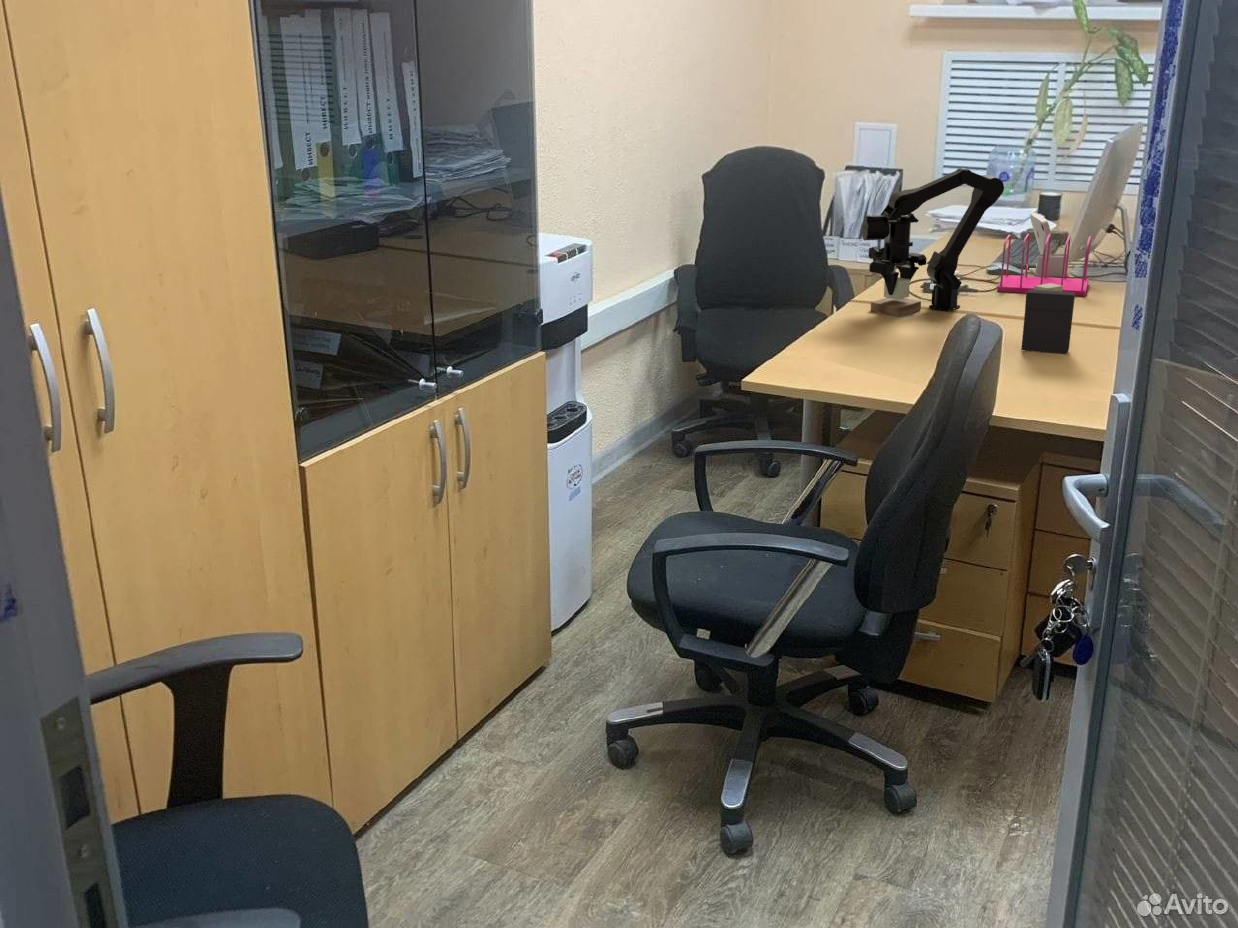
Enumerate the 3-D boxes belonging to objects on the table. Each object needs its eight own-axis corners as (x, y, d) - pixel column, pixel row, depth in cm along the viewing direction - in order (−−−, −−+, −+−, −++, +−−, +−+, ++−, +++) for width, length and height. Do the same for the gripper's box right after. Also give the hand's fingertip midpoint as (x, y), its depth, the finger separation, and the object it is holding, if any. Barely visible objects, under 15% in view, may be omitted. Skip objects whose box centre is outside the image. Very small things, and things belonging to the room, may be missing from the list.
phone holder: (1069, 276, 364) (1076, 219, 357) (1037, 277, 365) (1042, 220, 358) (1054, 265, 380) (1060, 210, 373) (1023, 266, 381) (1028, 211, 374)
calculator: (1068, 350, 287) (1075, 291, 281) (1067, 355, 283) (1074, 295, 278) (1022, 347, 291) (1028, 288, 286) (1020, 351, 287) (1026, 292, 282)
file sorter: (1085, 297, 338) (1091, 244, 333) (996, 292, 348) (1001, 240, 342) (1088, 284, 353) (1094, 233, 347) (1003, 280, 363) (1007, 230, 357)
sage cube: (908, 296, 329) (909, 279, 327) (897, 299, 326) (898, 282, 324) (894, 294, 332) (895, 277, 331) (883, 297, 330) (884, 279, 328)
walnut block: (920, 311, 330) (921, 301, 329) (898, 318, 324) (899, 307, 323) (892, 306, 337) (892, 296, 336) (870, 312, 331) (870, 302, 330)
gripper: (897, 231, 334) (895, 283, 340) (855, 239, 324) (853, 294, 329) (929, 235, 326) (925, 289, 332) (886, 244, 315) (884, 300, 321)
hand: (896, 293), depth 329 cm, fingers closed on sage cube, 5 cm apart
